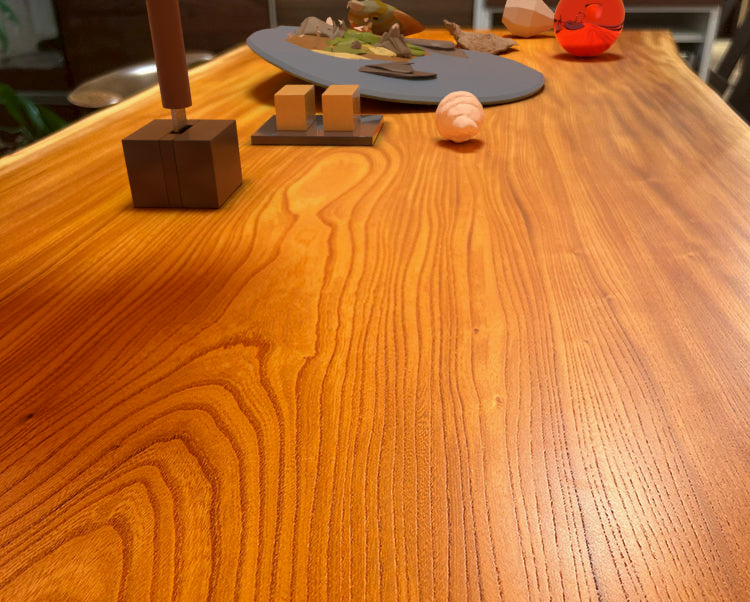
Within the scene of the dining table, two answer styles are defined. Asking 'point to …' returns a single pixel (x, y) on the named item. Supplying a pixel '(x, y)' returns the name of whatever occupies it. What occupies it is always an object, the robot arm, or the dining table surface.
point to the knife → (170, 59)
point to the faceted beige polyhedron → (527, 17)
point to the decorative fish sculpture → (381, 18)
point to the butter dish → (318, 118)
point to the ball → (588, 25)
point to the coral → (478, 40)
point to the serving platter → (392, 64)
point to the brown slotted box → (183, 164)
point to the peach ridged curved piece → (459, 116)
